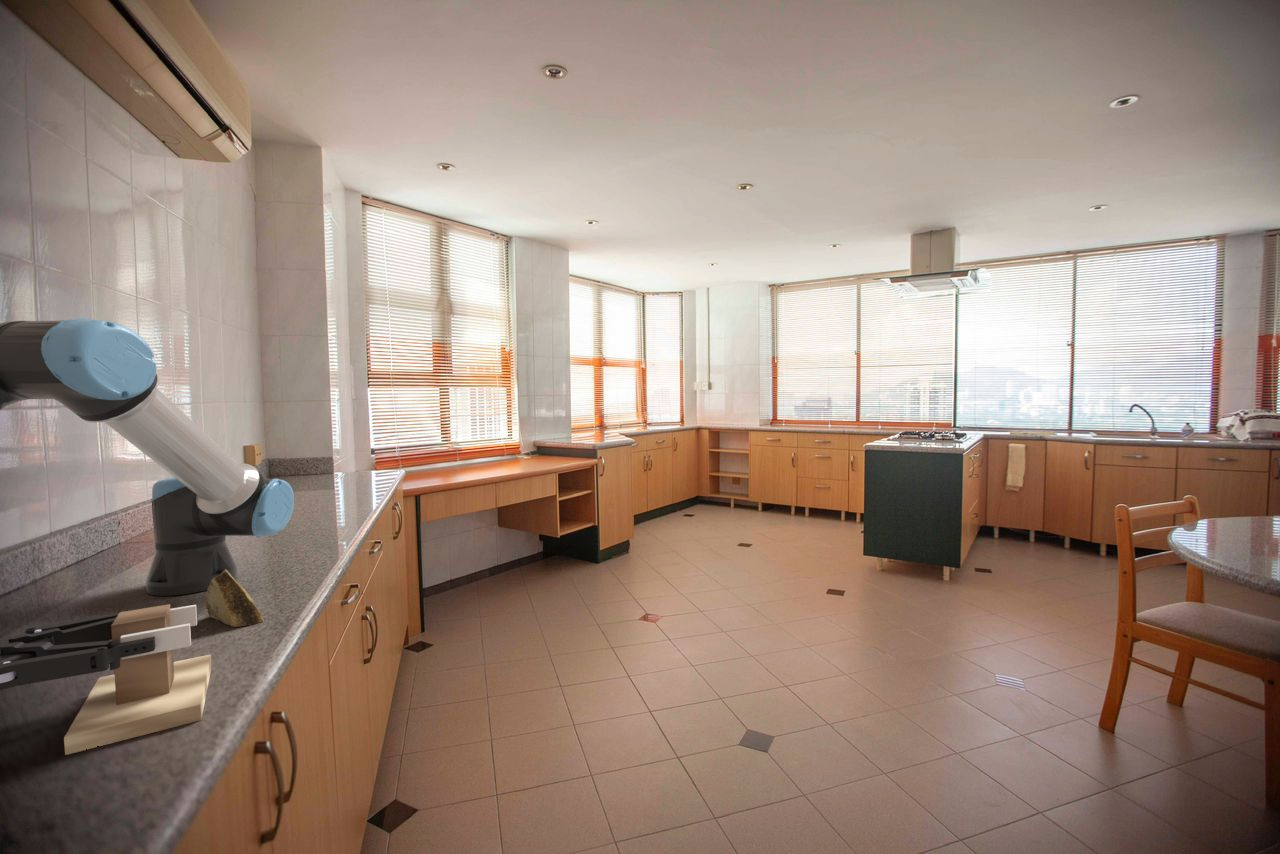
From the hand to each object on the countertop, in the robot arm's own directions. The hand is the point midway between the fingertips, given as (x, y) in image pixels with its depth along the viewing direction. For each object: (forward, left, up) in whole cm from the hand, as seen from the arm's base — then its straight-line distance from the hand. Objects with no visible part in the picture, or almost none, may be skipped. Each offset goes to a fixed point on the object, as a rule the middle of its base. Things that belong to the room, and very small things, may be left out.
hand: (193, 624), depth 75 cm
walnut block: (0, -5, -7) cm, 9 cm away
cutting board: (0, -5, -9) cm, 11 cm away
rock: (-28, +3, -10) cm, 30 cm away
